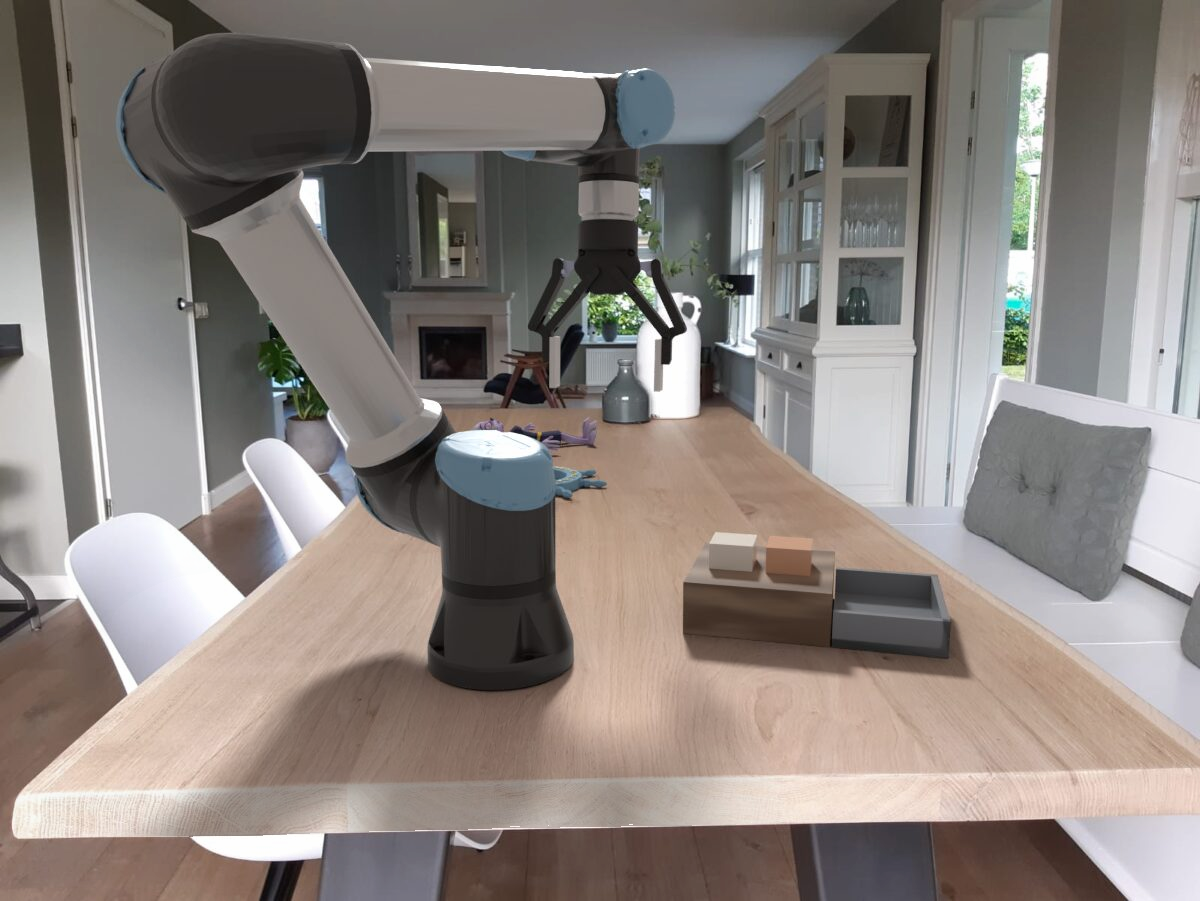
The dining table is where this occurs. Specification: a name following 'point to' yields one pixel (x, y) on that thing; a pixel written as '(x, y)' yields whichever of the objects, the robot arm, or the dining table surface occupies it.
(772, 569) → the orange square block
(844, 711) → the dining table surface
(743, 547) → the off-white block
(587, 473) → the decorative ship wheel
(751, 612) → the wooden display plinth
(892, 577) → the box
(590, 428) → the toy
